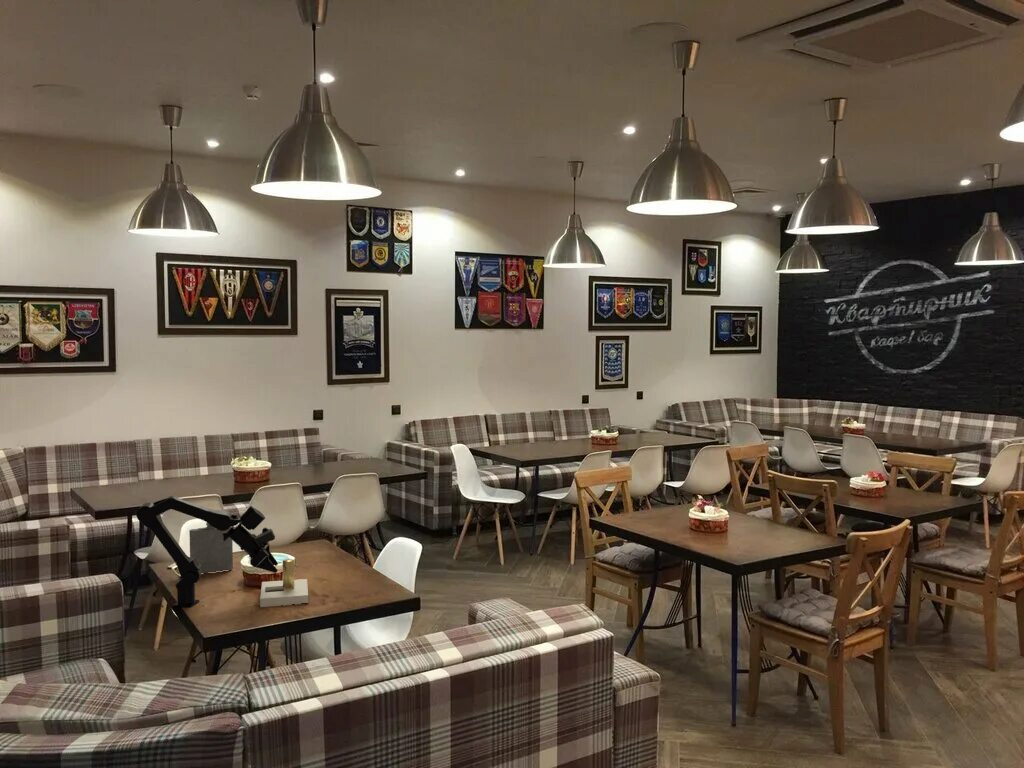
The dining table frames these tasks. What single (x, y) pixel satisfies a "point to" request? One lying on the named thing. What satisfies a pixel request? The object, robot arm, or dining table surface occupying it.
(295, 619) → the dining table surface
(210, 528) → the hip flask
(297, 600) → the keyhole plate
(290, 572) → the brass peg
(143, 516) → the robot arm
